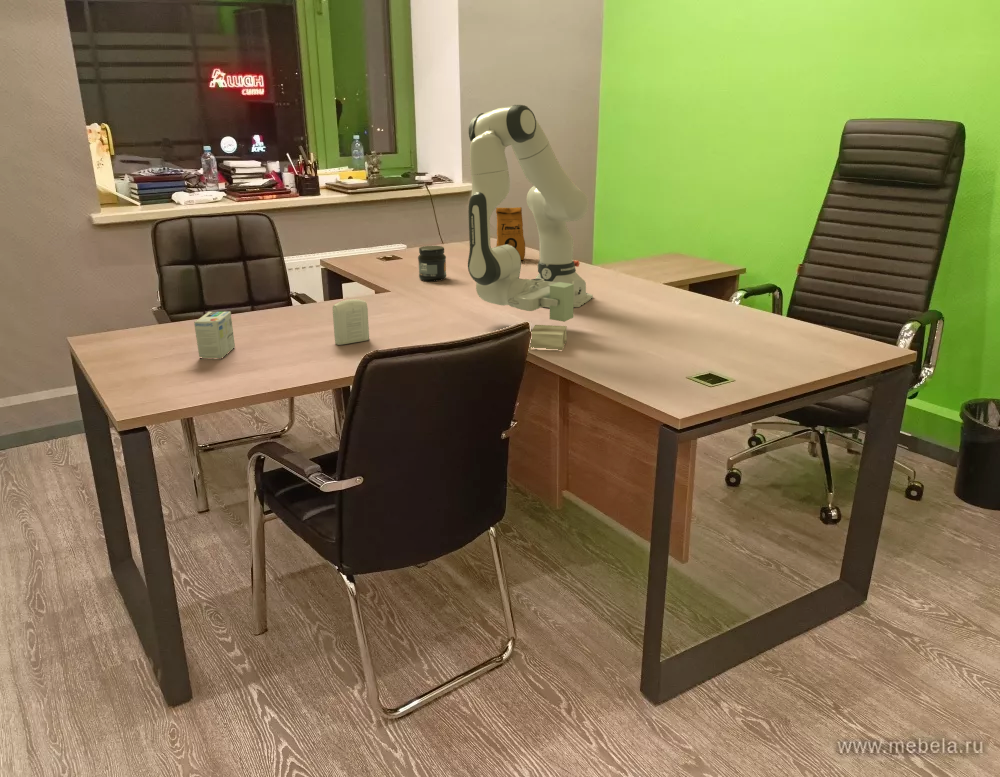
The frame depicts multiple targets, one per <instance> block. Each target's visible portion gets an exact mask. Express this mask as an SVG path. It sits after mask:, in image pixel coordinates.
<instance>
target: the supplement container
mask: <svg viewBox="0 0 1000 777" xmlns="http://www.w3.org/2000/svg"><path fill="white" fill-rule="evenodd" d="M418 253H419V255H418V257H417V260H418V277H419V280H421V281H423V280H424V281H423V282H437V281H436V280H441V281H443V279H444V280H445V279H446V278H447V265H446V264H447V263H446V259H447V256H446V255H445V247H444V246H442V245H424V246H420V247H418Z"/></svg>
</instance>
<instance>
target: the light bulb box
mask: <svg viewBox="0 0 1000 777" xmlns="http://www.w3.org/2000/svg"><path fill="white" fill-rule="evenodd" d="M193 322H194V323H193V324H194V331H195V337H196V344H197V352H198V358H199V357H202V358H222V357H224V356H225V355H226V354H227V353H228V352H229V351H231V350H232V349H233V348H234V347H235V348H236V345H235V344H236V343H235V336H234V329H233V321H232V312H231V311H229V310H228V311H207V312H206V313H205V314H203V315H202V316H201V317H200V318H198V319H196V320H195V321H193ZM235 348H234V349H235ZM234 349H233V350H234ZM233 350H232V351H233ZM232 351H231V352H232ZM227 355H228V354H227ZM227 355H226V356H227ZM226 356H225V357H226ZM225 357H224V358H225Z"/></svg>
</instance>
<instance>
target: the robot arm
mask: <svg viewBox="0 0 1000 777" xmlns="http://www.w3.org/2000/svg"><path fill="white" fill-rule="evenodd" d="M468 137H469V140H470V145H469V168H470V178H471V196H470V199H469V202H468V236H469V238H468V240H469V251H468V252H469V254H468V259H467V270H468V273H469V275H470V277H471V279H472V280H473V281H474V282H475V283H476V284H475V290H476V293H477V295H478V297H479V299H481V300H483V301H484V302H486V303H490V304H494V305H498V306H509V307H511V308H515V309H517V310H523V311H525V312H533V311H536V310H538V309H541V308H548V309H550V306H557V305H559V304H560V303H559V302H560V300H559V299H555V298H554V299H550V285H552V284H555V283H558V282H562V283H569V284H574V301H573V308H580V307H582V306H583V305H584V303H585V304H586V303H588V302H589V301H590V300H592V299H593V298H594V295H593V294H592V293H588V292H587V284H586V283H587V282H586V280H585V279H583V278H582V277H581V276H580V275H579V274H578V272H577V270H576V267H577V268H578V267H579V266H580V261H579V260H573V258H574V238H573V235H572V234H571V232H570V231H569V229H568V226H567V222H574V221H580V220H583V218H584V217H585V216H586V214H587V213H588V211H589V206H590V203H589V202H590V201H589V197H588V195H587V194H586V193H585V192H584V191H583V190H582V189H580V188H579V187H578V186H577V185H576V183H574V181H572V179H571V177H569V175H568V173H567V172H566V171H565V170H564V169H563V168H562V165H561V164H560V163H559V161H558V159H557V157H556V155H555V153H554V151H553V148H552V145H551V144H550V141H549V140H548V137H547V135H546V133H545V132H544V130H543V127H541V125H540V123H539V122H538V120H537V119H536V116H535V114H534V112H533V111H532V110H531V109H530V107H528V106H527V105H523V104H514V105H511V106H502V107H498V108H495V109H493V110H489V111H486V112H483V113H480V114H477V115H475V116H473V117H472V119H471V120H470V122H469V125H468ZM508 146H511V148H512V151H513V152H514V156H515V158H516V159H517V161H518V164H519V166H520V168H521V170H522V173H523V174H524V176H525V178H526V179H527V181H528V182H529V183H530V184H531V185H533V186H532V187H530V188H529V190H528V192H527V194H526V205H527V208H529V210H530V212H531V213H532V216H533V219H534V222H535V226H536V228H537V234H538V240H539V241H538V242H539V250H538V251H539V258H538V259H539V260H538V262H537V272H538V274H537V276H536V277H535V278H532V279H530V278H520V274H521V266H522V261H521V257H520V254H519V252H518V251H517V250H516V248H514V247H513V246H511V245H502V246H497V247H496V246H494V247H491V226H490V225H491V224H490V223H491V222H490V221H491V216H492V214H493V212H494V211H495V210H496V208H498V206H499V205H500V204H501V203H503V201H504V200H505V199H506V198H507V196H508V195H509V192H510V186H511V184H510V183H511V181H510V180H511V179H510V174H509V167H508V161H507V156H506V151H505V150H506V147H508ZM591 298H592V299H591ZM581 305H582V306H581Z"/></svg>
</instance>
